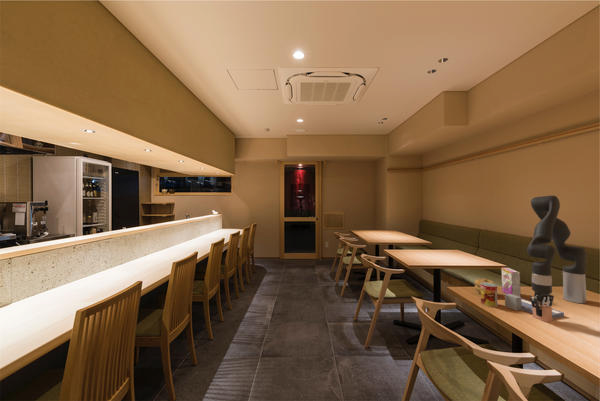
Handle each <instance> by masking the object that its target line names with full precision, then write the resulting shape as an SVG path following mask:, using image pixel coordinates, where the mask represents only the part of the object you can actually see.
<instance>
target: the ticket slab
mask: <svg viewBox="0 0 600 401" xmlns="http://www.w3.org/2000/svg"><path fill="white" fill-rule="evenodd" d="M521 304H522V310H521V311H525V312H526V313H527V312H528V313H530V314H532V315H533V307H532V303H531V300H526V299H524V298H522V297H521ZM563 317H565V312H564V311H560V310H557V309H554V308H552V320H553V319H559V318H563Z"/></svg>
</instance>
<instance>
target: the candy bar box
mask: <svg viewBox="0 0 600 401" xmlns="http://www.w3.org/2000/svg"><path fill="white" fill-rule="evenodd" d="M501 292H503V293H504V294H513V295H516V296H519V297H521V295H522V294H521V293H522V292H521V272H519V271H517V270H515V269H513V268H510V267H501ZM521 298H522V297H521Z"/></svg>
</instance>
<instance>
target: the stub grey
mask: <svg viewBox="0 0 600 401" xmlns="http://www.w3.org/2000/svg"><path fill="white" fill-rule="evenodd" d="M521 298H522V297H519V296H516V295H513V294H506V293H504V306H505V308H506V307H507V308H509V309H511V310H514V311H523V310H522V304H521Z"/></svg>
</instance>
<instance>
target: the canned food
mask: <svg viewBox="0 0 600 401" xmlns="http://www.w3.org/2000/svg"><path fill="white" fill-rule="evenodd" d="M480 284H481V293H480V304H481V305H483V306H487V307H489V308H490V307H491V308H496V307H498V285H497V284H496V283H495V284H493V283H488V282H481V283H480Z"/></svg>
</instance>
